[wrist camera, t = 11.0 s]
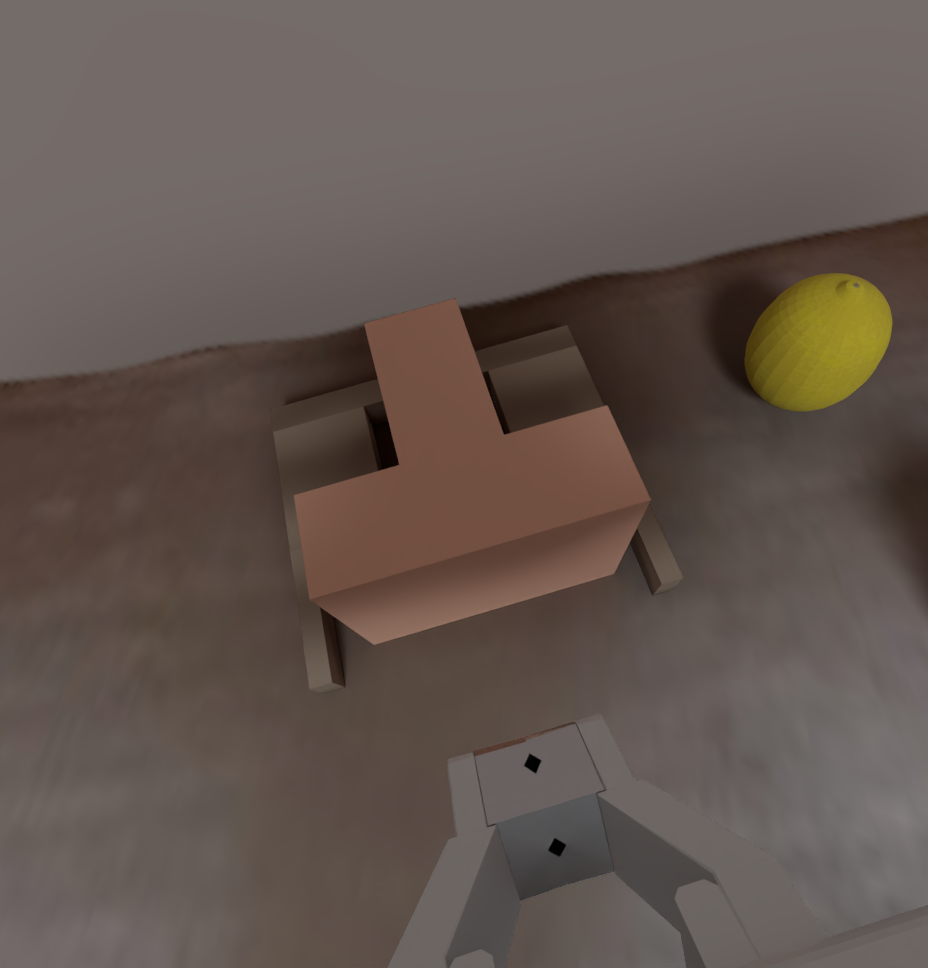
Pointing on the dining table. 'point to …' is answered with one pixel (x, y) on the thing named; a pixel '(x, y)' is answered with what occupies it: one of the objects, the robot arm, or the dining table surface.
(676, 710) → the dining table surface
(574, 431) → the t block
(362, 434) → the t dock
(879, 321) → the lemon
